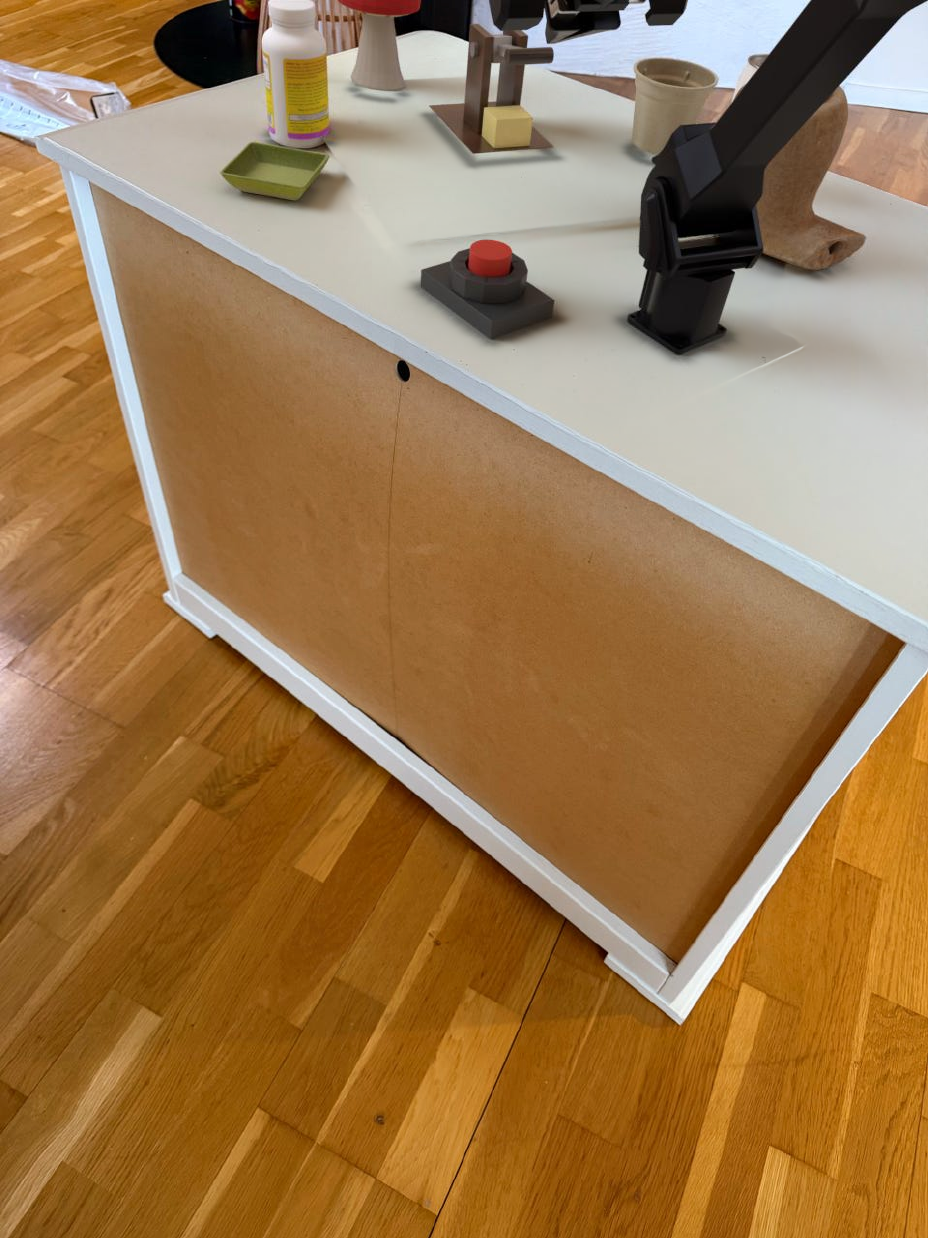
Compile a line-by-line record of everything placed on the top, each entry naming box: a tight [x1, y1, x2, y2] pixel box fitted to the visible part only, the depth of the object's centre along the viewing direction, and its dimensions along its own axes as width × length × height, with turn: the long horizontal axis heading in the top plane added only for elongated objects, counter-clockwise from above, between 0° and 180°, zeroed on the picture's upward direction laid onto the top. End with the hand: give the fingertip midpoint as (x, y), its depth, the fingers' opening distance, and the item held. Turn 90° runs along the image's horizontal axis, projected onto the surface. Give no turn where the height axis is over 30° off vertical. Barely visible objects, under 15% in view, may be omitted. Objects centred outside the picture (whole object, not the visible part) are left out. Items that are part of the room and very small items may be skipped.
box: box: [420, 247, 556, 340], centre depth 77 cm, size 10×7×4 cm
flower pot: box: [631, 56, 719, 155], centre depth 101 cm, size 9×9×9 cm
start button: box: [468, 239, 513, 278], centre depth 76 cm, size 4×4×2 cm
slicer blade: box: [491, 33, 555, 66], centre depth 94 cm, size 10×5×2 cm, turn 22°
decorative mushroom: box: [337, 0, 422, 92], centre depth 104 cm, size 10×9×15 cm
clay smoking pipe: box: [734, 84, 867, 271], centre depth 85 cm, size 15×12×15 cm
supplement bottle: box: [261, 0, 330, 150], centre depth 94 cm, size 7×7×13 cm
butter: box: [482, 104, 534, 149], centre depth 99 cm, size 4×4×3 cm
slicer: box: [428, 23, 555, 155], centre depth 100 cm, size 14×10×11 cm
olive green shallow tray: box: [219, 141, 331, 201], centre depth 90 cm, size 9×9×2 cm
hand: (549, 38), depth 87 cm, fingers closed
